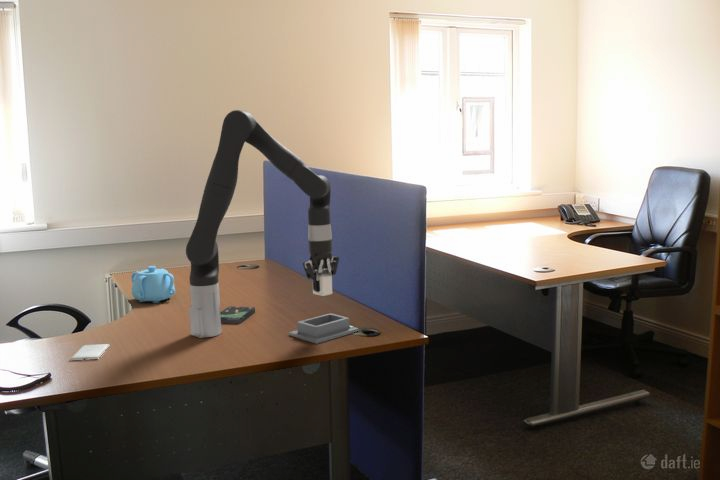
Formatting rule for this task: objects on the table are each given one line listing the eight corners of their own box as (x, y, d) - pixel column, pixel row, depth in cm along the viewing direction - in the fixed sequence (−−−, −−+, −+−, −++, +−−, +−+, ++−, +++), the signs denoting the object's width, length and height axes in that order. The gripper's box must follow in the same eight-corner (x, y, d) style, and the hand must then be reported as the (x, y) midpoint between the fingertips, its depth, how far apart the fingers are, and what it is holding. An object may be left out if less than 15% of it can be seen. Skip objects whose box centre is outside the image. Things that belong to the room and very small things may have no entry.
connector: (323, 296, 240) (322, 274, 239) (313, 293, 244) (312, 272, 242) (332, 293, 243) (331, 272, 242) (322, 291, 246) (321, 270, 245)
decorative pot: (133, 306, 288) (130, 272, 286) (131, 297, 303) (129, 264, 301) (176, 302, 293) (174, 268, 291) (172, 293, 308) (170, 261, 306)
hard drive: (83, 345, 236) (70, 357, 224) (109, 343, 237) (98, 356, 225) (83, 350, 237) (70, 362, 225) (110, 348, 237) (98, 361, 225)
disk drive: (229, 313, 276) (213, 324, 262) (228, 306, 276) (213, 316, 262) (255, 314, 274) (241, 324, 260) (255, 306, 274) (241, 316, 259)
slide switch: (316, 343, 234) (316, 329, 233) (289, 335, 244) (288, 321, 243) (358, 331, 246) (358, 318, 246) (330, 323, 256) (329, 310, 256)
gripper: (329, 234, 248) (331, 284, 250) (295, 240, 238) (298, 292, 241) (344, 236, 242) (346, 287, 245) (310, 242, 233) (313, 296, 235)
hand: (322, 289), depth 243 cm, fingers closed on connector, 4 cm apart
